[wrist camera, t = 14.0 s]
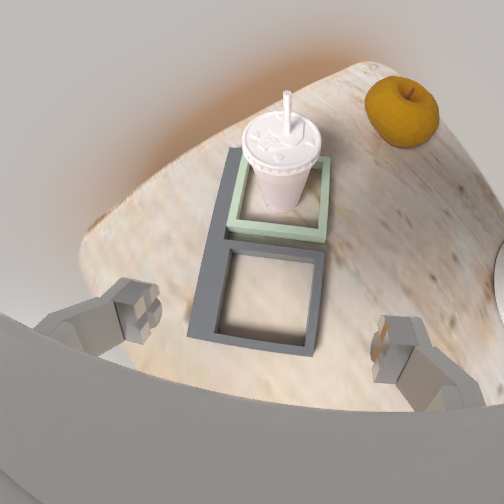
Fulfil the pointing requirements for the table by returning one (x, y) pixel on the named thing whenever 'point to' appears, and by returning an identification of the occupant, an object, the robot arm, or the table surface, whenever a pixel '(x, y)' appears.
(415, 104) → the apple
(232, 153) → the rail
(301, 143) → the smoothie
